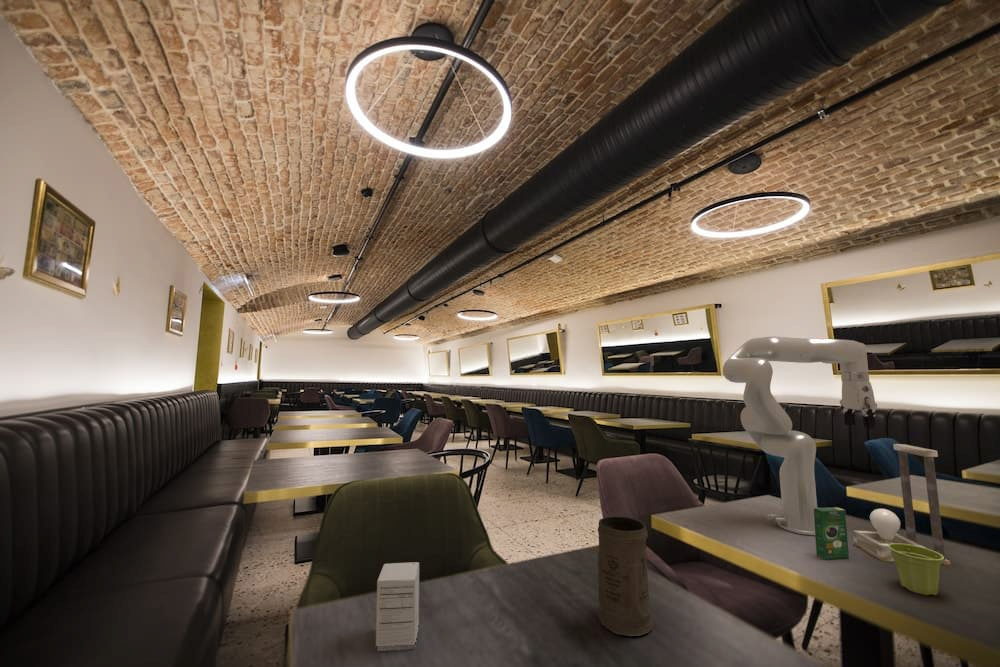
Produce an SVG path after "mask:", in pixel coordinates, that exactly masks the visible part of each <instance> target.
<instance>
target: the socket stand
mask: <svg viewBox="0 0 1000 667" xmlns="http://www.w3.org/2000/svg"><path fill="white" fill-rule="evenodd" d="M892 445H893V450H894V451H897V456H898V463H899V464H898V465H899V474H900V475H899V476H900V485H901V493H902V501H903V502H902V503H903V513H904V523H905V530H906V531H905V532H906V537H905V536H904V535H903V536H902V535H900V534H898V533H897V532H896V533H895V536H894V539H893V543H902V544H910V545H915V546H919V547H923V548H927V547H925V546H924V545H921V544H919V543H917V534H916V532H917V531H916V524H915V515H914V514H915V513H914V512H915V511H914V504H913V496H912V486H911V478H910V469H909V457H908V454H911V455H915V456H916V455H917V456H920V457H923V464H924V465H923V466H924V473H925V474H924V476H925V481H926V482H925V483H926V491H927V501H928V502H927V503H928V510H929V519H930V527H931V528H930V529H931V538H932V545H933V547H932V548H933V551H935V552H938V553H940V554H941V555H943V556H944V560H942V563H941V564H944V565H945V566H951V560H948V559H946V555H945V554H946V553H945V546H944V539H943V538H944V536H943V527H942V519H941V510H940V503H939V502H940V501H939V493H938V492H939V491H938V485H937V474H936V466H935V458H938V457H939V454H938V450H936V449H935V450H934V449H929V448H924V447H920V446H915V445H910V444H905V443H904V444H903V443H893V444H892ZM852 536H853V539H852V540H853V545H854V546H856V547H857V546H858V547H857V548H859V547H860V548H859V549H861V550H862V551H864V552H866V553H868V554H869V555H871V556H873V557H875V558H876V559H878V560H879V559H880V560H879V561H881V560H882V561H881V562H894V563H895V561H894V557H893V555H892V554H891V550H890V549H889V548H888V544H882V543H881V539H880V536H879V534H878V531H871V530H870V531H869V530H852Z"/></svg>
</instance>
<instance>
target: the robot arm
mask: <svg viewBox="0 0 1000 667" xmlns="http://www.w3.org/2000/svg"><path fill="white" fill-rule="evenodd" d="M867 354H868V353H867V346H866V344H865V343H863V342H859V341H856V340H851V339H838V338H837V339H833V338H832V339H831V338H829V339H828V338H827V339H826V338H825V339H824V338H808V337H807V338H806V337H805V338H802V337H787V336H763V337H755V338H750V339H749V340H747V341H746V342H744V343H743V344H741V345H740V347H739V348H738V349H736V350H735V352H733V353H732V355H730V356H729V358H727V360H725V362H724V363H723V366H722V375H723V376H724V378H725V379H726V380H727V381H729V382H731V383H736V384H738V383H739V384H741V383H742V384H743V383H744V384H745V385H744V390H743V395H742V397H743V398H742V399H743V403H744V404H745V407H743V409H742V411H741V412H740V422H741V425H742V427H743V429H744V430H745V431H746V433H747V434H748V435H749V437H750V438H751V439H752V440H753V441H754V442H755V443H756V445H757V447H759V449H761V450H762V451H763V452H764V453H766V454H768V455H771V456H775V457H781V458H784V460H783V462H782V463H781V465H780V468H779V485H780V496H781V509H782V510H779V512H777V513H767V514H766V518H767V520H768V521H775V523H776V522H777V525H778V527H779V528H781V529H783V530H786V531H787V532H792V533H795V534H799V535H805V536H815V522H814V508H818V503H817V502H818V500H817V490H816V487H817V486H816V479H815V461H816V459H815V458H816V454H817V445H816V442H815V440H814V439H813V438H812V436H810V435H809V434H807V433H805V432H802V431H799V430H792V429H793V422H792V419H791V417H790V416H789V414H788V413H787V412H786V411H785V409H784V408H783V407H782V405H780V403H779V402H778V400H777V399H775V397H774V396H773V393H772V392H771V383H772V379H773V378H772V377H773V372H774V371H773V366H772V364H771V362H785V363H797V364H798V363H799V364H801V363H803V364H805V363H806V364H807V363H823V364H839V368H840V369H839V370H840V377H841V379H840V380H841V400H839V404H840V408H841V410H842V413H843V420H844V421H843V422H844V425H845V426H856V416H855V413H854V412H855V411H861V413H862V415H863V416H862V423H863V428H864V429H876V421H875V420H876V419H875V417H876V413H877V408H878V404H877V403H876V399H875V395H874V394H875V393H874V389H873V387H872V382H871V381H870V375H869V367H868V365H869V364H868V355H867Z"/></svg>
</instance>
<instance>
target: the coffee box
mask: <svg viewBox="0 0 1000 667" xmlns="http://www.w3.org/2000/svg"><path fill="white" fill-rule="evenodd" d="M846 514H847V513H846V509H844V508H841V507H837V506H834V507H831V506H830V507H817V508H814V522H815V535H814V536H815V538H814V539H815V551H816V557H818V558H820V559H822V560H834V559H835V560H836V559H837V560H839V559H849V558H850V554H849V543H848V542H849V541H848V529H847V527H848V526H847V517H846Z"/></svg>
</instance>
